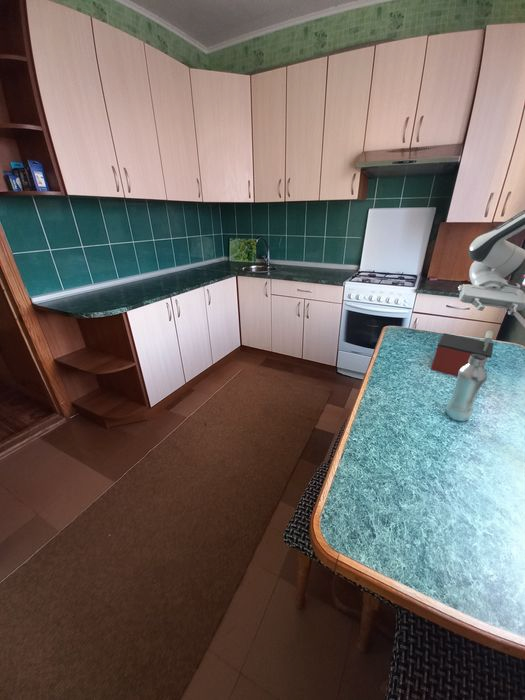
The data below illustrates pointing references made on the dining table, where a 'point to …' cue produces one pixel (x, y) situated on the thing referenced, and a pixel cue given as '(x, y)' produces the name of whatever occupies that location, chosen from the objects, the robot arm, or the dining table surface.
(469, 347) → the box lid
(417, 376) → the dining table surface
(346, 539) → the dining table surface
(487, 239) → the robot arm
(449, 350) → the red box
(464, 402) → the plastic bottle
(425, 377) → the dining table surface
